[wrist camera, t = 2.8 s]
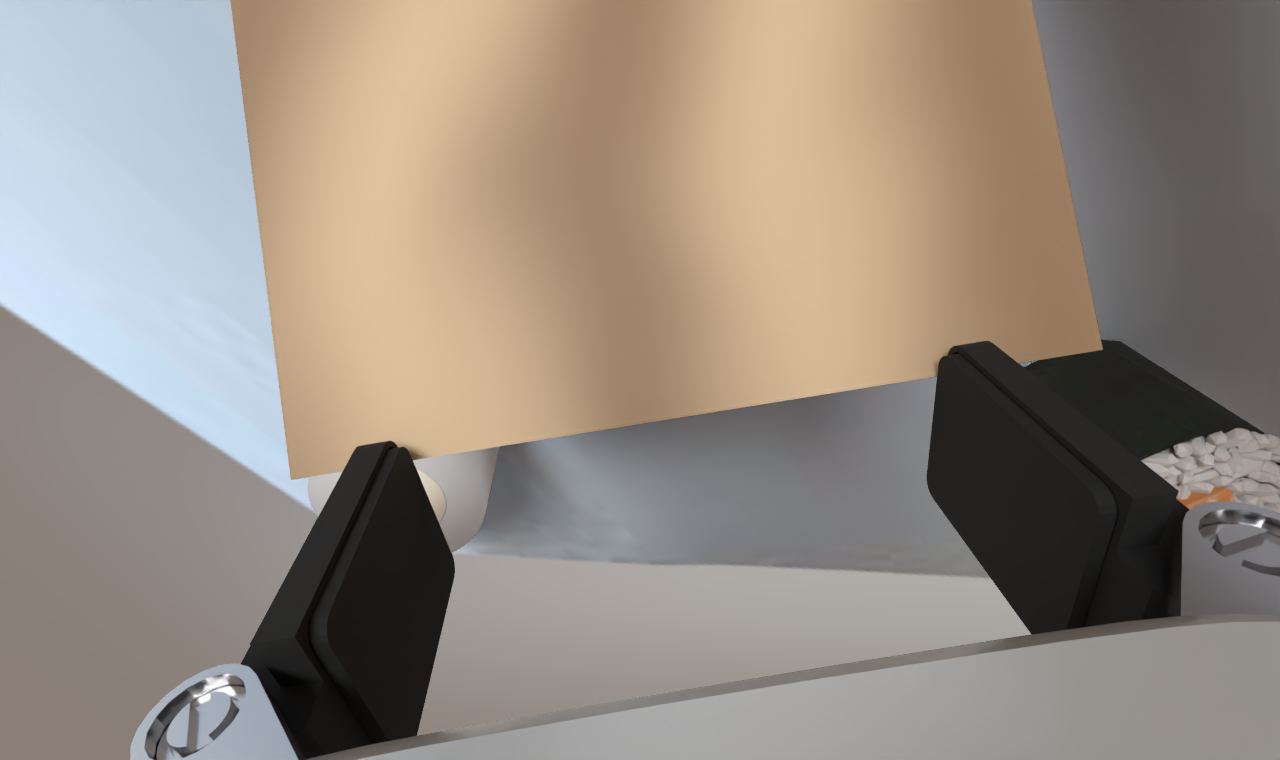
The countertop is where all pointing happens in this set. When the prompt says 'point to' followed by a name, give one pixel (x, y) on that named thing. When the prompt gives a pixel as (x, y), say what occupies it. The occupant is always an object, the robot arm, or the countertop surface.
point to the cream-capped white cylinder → (440, 491)
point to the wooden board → (642, 208)
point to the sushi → (1168, 426)
